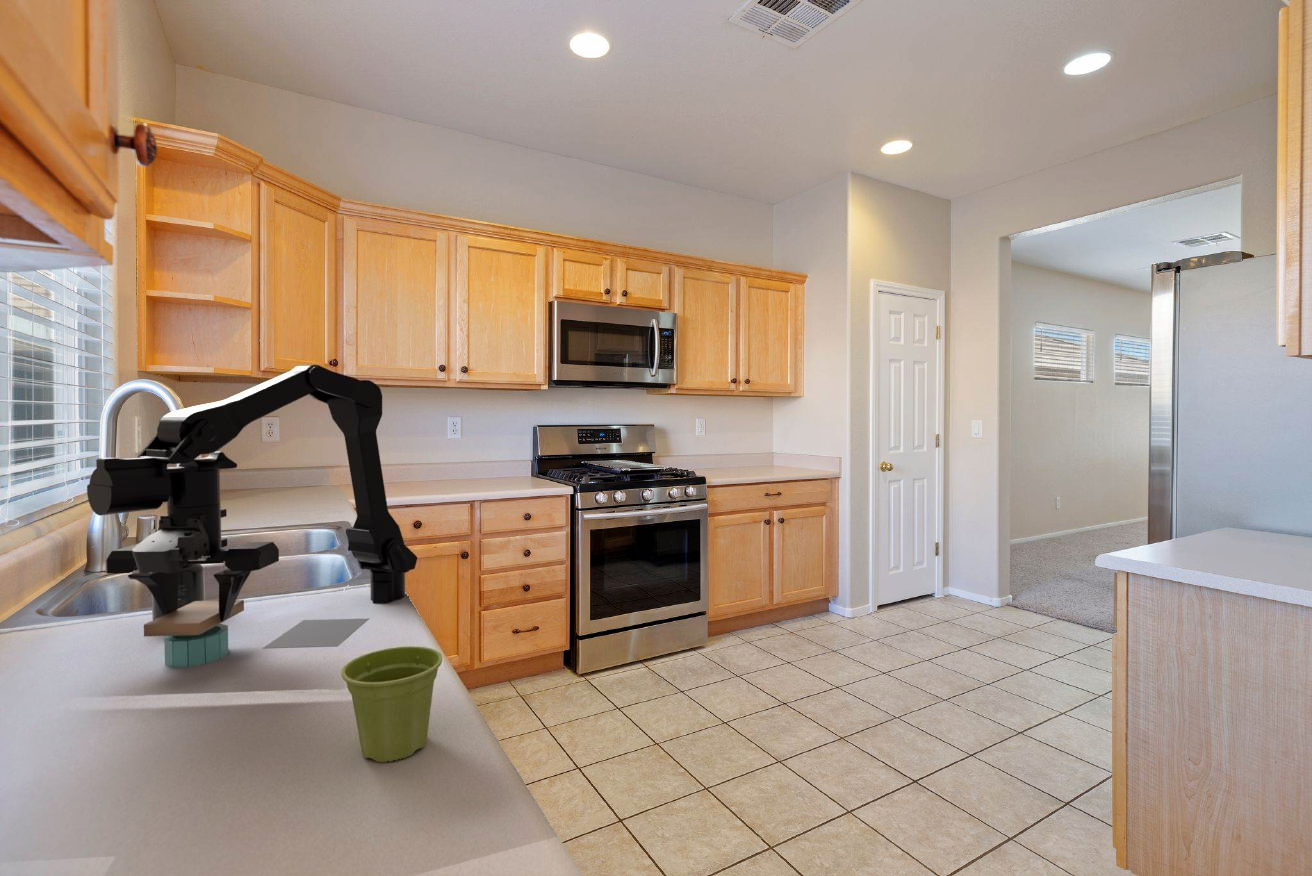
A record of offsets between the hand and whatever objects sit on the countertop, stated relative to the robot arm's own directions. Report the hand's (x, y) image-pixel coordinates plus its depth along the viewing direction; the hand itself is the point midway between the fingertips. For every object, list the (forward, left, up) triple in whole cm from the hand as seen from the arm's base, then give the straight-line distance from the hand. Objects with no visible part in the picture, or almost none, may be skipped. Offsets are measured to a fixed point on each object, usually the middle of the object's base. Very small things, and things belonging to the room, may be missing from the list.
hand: (197, 620), depth 84 cm
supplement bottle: (-18, -14, -6) cm, 24 cm away
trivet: (-8, +12, -6) cm, 16 cm away
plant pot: (+24, +33, -6) cm, 41 cm away
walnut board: (0, 0, 0) cm, 0 cm away
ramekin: (0, 0, -6) cm, 6 cm away
